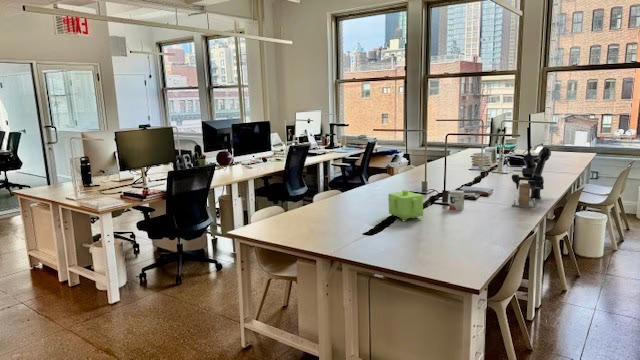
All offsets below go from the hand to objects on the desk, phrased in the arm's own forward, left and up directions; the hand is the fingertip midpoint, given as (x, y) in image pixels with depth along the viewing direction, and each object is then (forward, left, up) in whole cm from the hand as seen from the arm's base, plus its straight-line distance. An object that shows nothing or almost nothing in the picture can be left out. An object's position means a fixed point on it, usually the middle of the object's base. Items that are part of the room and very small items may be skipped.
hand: (524, 189), depth 285 cm
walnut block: (0, 0, -9) cm, 9 cm away
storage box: (+50, -64, -10) cm, 82 cm away
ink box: (+20, -39, -10) cm, 45 cm away
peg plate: (0, 0, -10) cm, 10 cm away
